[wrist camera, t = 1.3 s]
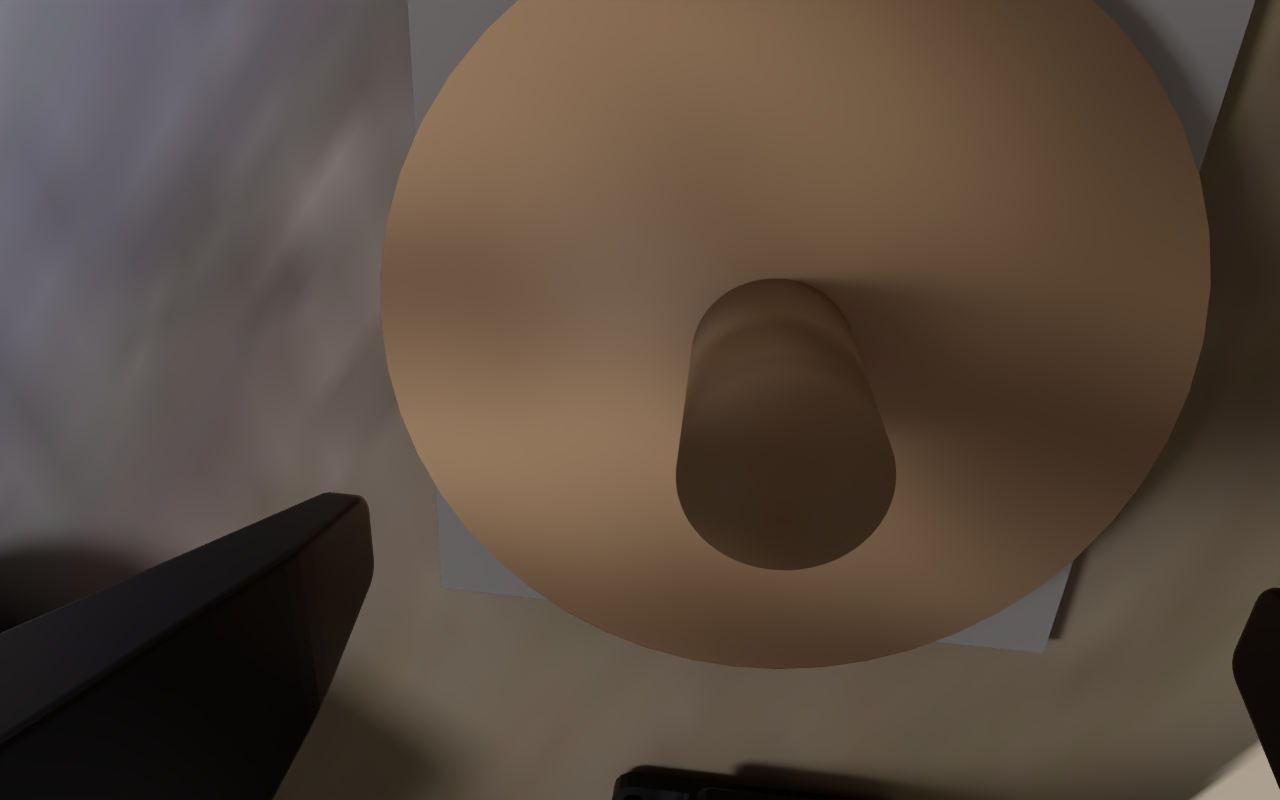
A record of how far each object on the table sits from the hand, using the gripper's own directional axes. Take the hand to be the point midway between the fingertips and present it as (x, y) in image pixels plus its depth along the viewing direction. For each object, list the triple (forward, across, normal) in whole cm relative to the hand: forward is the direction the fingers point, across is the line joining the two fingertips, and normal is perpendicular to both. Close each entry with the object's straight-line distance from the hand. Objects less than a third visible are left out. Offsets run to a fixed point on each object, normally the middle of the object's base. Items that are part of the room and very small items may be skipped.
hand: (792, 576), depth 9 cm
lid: (+6, 0, 0) cm, 7 cm away
